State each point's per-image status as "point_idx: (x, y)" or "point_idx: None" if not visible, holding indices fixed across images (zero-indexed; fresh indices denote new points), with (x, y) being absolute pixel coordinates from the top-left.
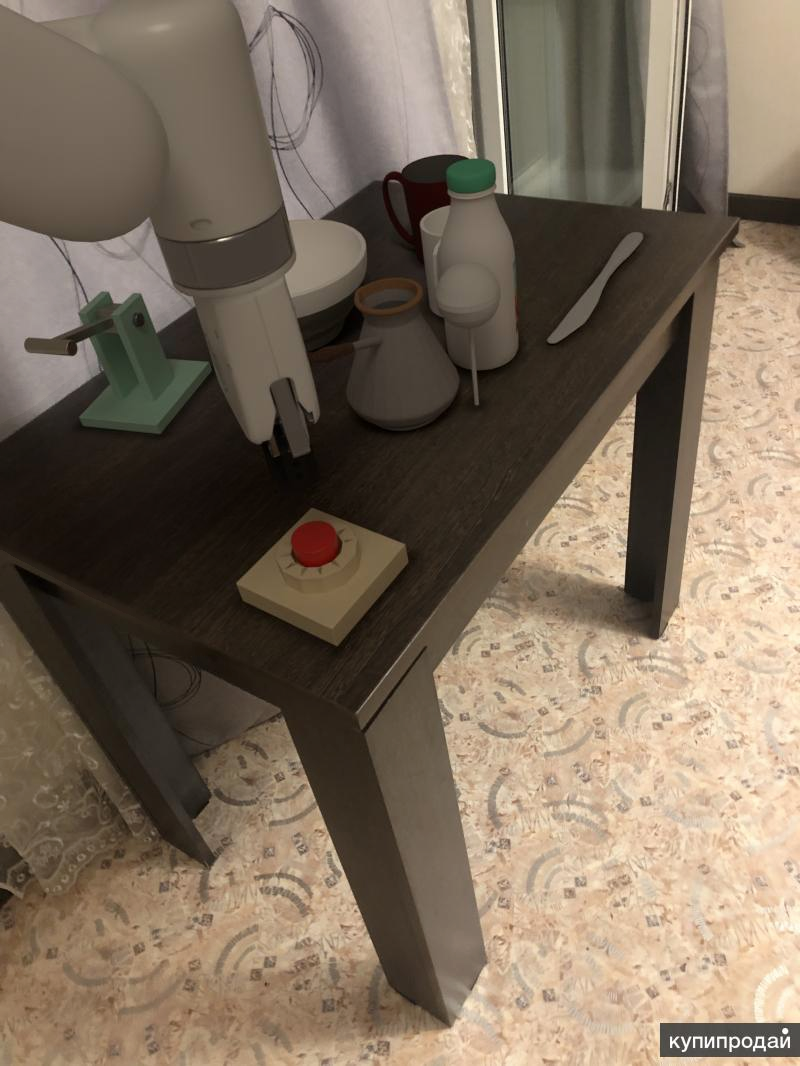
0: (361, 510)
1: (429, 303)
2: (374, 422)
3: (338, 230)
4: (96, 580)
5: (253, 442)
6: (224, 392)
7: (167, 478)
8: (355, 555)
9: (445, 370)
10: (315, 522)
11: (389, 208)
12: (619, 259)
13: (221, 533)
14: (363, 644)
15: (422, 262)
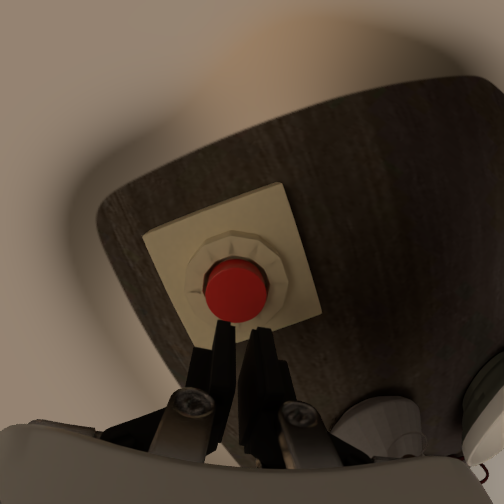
0: (297, 343)
1: (422, 455)
2: (367, 403)
3: (496, 449)
4: (410, 88)
5: (18, 425)
6: (364, 499)
7: (473, 217)
8: (195, 314)
9: None
10: (256, 311)
11: (480, 464)
12: None
13: (383, 217)
14: (138, 251)
15: (448, 456)
